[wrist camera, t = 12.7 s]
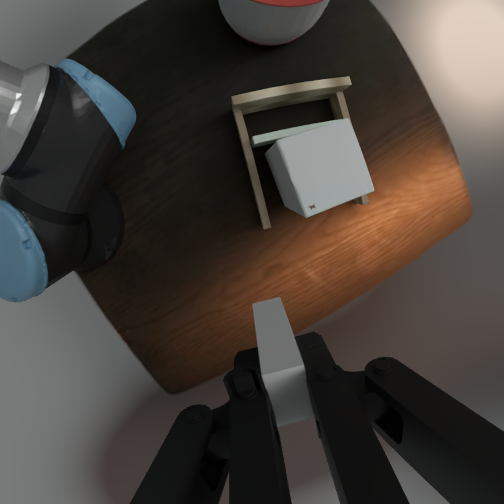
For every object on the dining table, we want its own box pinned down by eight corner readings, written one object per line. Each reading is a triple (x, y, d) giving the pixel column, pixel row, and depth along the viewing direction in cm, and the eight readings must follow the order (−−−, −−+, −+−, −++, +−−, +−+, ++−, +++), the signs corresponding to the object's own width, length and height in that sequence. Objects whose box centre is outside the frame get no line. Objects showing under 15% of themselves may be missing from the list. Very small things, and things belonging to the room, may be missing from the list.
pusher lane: (261, 225, 48) (266, 234, 41) (232, 109, 44) (231, 96, 36) (359, 201, 48) (380, 206, 40) (332, 90, 44) (349, 76, 36)
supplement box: (337, 188, 48) (377, 193, 33) (284, 207, 48) (305, 221, 33) (317, 133, 46) (350, 115, 31) (262, 151, 46) (274, 140, 31)
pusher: (252, 148, 45) (254, 143, 40) (250, 141, 45) (252, 136, 39) (335, 130, 45) (348, 125, 39) (334, 124, 45) (346, 118, 39)
